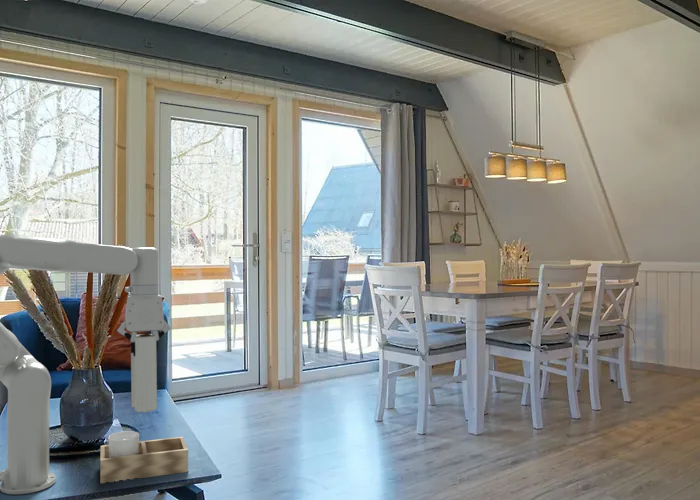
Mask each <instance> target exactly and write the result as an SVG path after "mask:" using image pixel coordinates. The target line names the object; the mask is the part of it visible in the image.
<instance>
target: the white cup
mask: <svg viewBox="0 0 700 500" xmlns="http://www.w3.org/2000/svg"><path fill="white" fill-rule="evenodd" d="M107 441H108V442H107V443H108V446H109V458H113V457H121V456H130V455H138V450H139V441H140V433H139V432H138V431H132V430H126V431H118V432H114V433H111V434H109V435H108V437H107Z"/></svg>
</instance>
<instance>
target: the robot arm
mask: <svg viewBox="0 0 700 500" xmlns="http://www.w3.org/2000/svg"><path fill="white" fill-rule="evenodd" d="M9 269H16V270H33V271H44V272H45V271H46V272H57V273H58V272H59V273H61V272H62V273H92V274H93V273H94V274H105V275H106V274H107V275H122V276H125V275H129V274H130V284H129V286H125V287H124V292H125V293H129V295H127V299H126V306H125V317H124V318H125V319H124V321H123V322H122V323H121V324H120V326H119V327H118V328H117V332H118V333H119V335H122V336H124V337H125V338H126V339H127V340H128V341H130V354H131V353H133V355H134V356H135V342H134V341H135V337H136V335H138V334H137V333H138V332H139V333H140V332H152V334H153V335H154V336H156V352H159V340H160V339H161V338H162V337H163V336H164V335H165V334H166V333H168V331H170V330H171V329H172V328H171V326H170V325H169V323H168V322H167V321H166V320H165V319H164V305H163V298H162V295H160V294H159V251H158V248H155V247H149V246H148V247H133V248H130V247H128V246H127V247H126V246H118V245H117V246H116V245H108V244H107V245H106V244H99V243H98V244H97V243H87V242H80V241H76V240H69V239H62V238H50V237H41V236H40V237H39V236H31V235H23V234H1V235H0V276H1V275H2V274H4V273H5V272H7V271H8V270H9ZM125 329H126V330H125ZM129 332H130V333H129ZM22 344H23V343H21V342H20V341H19V339H18V338H17V336H16V335H15V334H14V333H13V332H12V331H11V330H10V329H7V328H6V326H5V325H3V323H2V322H1V321H0V383H2V384H3V386H5V387H6V389H7V404H6V405H7V408H6V436H7V437H6V450H7V451H6V452H7V453H6V459H7V460H6V466H7V467H6V469H2V470H1V471H0V492H2V493H4V494H7V495H25V494H32V493H35V492H41V491H42V490H46V489H48V488H50V487H51V486H53V485H54V484H55V483H56V481H57V476H56V474H55V473H53V472H50V404H51V403H50V401H51V392H52V378H51V375H50V372H49V370H48V368H47V367H46V366H45V365H44V364H42V363H41V362H39V361H38V360H37V359H36V358H35V357H34V356H33V355H32V354H31V353H30V351H28V350H27V348H25V346H24V345H22Z"/></svg>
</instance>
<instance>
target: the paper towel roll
mask: <svg viewBox="0 0 700 500" xmlns="http://www.w3.org/2000/svg"><path fill="white" fill-rule="evenodd" d="M134 342H135V356H134V355H133V353H131V352H130V362H131V363H130V369H131V370H130V375H131V377H130V378H131V381H130V383H131V384H130V385H131V388H130V389H131V408H134V411H135V412H138V413H148V412H153V411H156V410H157V408H158V394H157V393H158V385H157V382H158V381H157V380H158V377H157V376H158V375H157V373H158V372H157V367H158V366H157V365H158V362H157V351H156V336H154V335H153V333H152V334H151V333H142V334H136V337H135V341H134Z"/></svg>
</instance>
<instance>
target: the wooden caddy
mask: <svg viewBox="0 0 700 500" xmlns="http://www.w3.org/2000/svg"><path fill="white" fill-rule="evenodd" d="M99 457H100V460H99V461H100V469H99V471H100V474H99V476H100V483H99V484H106V482H108V483H114V481H115V482H120V481H119V480H123V481H127V480H126V479H130V480H135V479H134V478H138V479H143V478H145V479H146V478H152V477H158V476H165V475H166V476H167V475H174V474H175V475H176V474H182V473H188V472H189V448H188V446H187V443H186V440H185V438H184V436H177V437H176V436H175V437H167V438H159V439H149V440H139V450H138V455H130V456H121V457H113V458H109V446H108V445H106V444H105V445H104V444H103V445H100V456H99Z"/></svg>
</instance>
